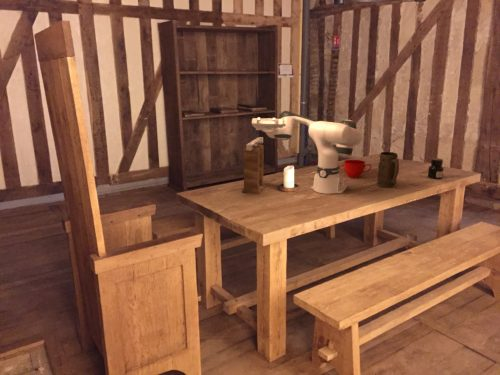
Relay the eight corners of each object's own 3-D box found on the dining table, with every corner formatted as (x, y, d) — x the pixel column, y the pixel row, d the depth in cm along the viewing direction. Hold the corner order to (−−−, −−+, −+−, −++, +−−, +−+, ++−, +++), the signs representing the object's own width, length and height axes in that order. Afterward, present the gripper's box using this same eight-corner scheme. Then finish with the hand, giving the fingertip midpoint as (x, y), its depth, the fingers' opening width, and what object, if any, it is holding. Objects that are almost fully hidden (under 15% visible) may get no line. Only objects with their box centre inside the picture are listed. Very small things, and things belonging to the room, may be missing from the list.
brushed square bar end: (258, 142, 259) (258, 137, 258) (263, 142, 258) (263, 137, 257) (246, 150, 235) (246, 144, 234) (251, 150, 234) (251, 144, 233)
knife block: (248, 186, 258) (248, 141, 251) (264, 187, 256) (265, 141, 248) (242, 192, 246) (242, 144, 239) (259, 193, 243) (259, 145, 236)
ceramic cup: (370, 180, 274) (372, 164, 271) (343, 178, 277) (344, 163, 274) (369, 175, 286) (370, 160, 283) (343, 174, 289) (344, 159, 286)
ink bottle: (440, 180, 275) (442, 161, 272) (425, 178, 280) (427, 159, 277) (444, 177, 283) (446, 158, 279) (430, 175, 288) (432, 157, 284)
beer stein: (371, 184, 265) (376, 151, 258) (385, 181, 270) (389, 150, 263) (390, 192, 252) (395, 158, 246) (403, 189, 257) (409, 156, 250)
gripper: (285, 131, 275) (282, 124, 262) (253, 130, 280) (249, 123, 266) (286, 121, 276) (283, 114, 263) (254, 120, 281) (250, 113, 267)
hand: (266, 118), depth 265 cm, fingers open, 8 cm apart
